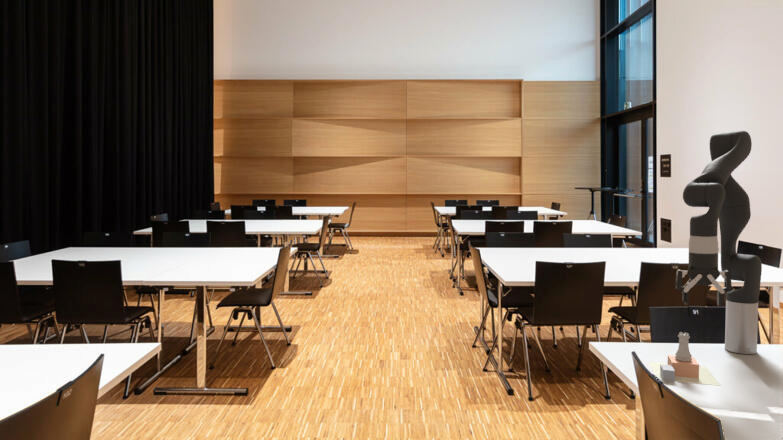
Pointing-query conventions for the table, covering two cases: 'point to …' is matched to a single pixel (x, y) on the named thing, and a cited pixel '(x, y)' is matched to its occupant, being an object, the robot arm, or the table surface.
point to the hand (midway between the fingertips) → (702, 304)
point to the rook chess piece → (683, 348)
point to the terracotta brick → (684, 367)
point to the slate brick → (667, 372)
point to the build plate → (704, 377)
